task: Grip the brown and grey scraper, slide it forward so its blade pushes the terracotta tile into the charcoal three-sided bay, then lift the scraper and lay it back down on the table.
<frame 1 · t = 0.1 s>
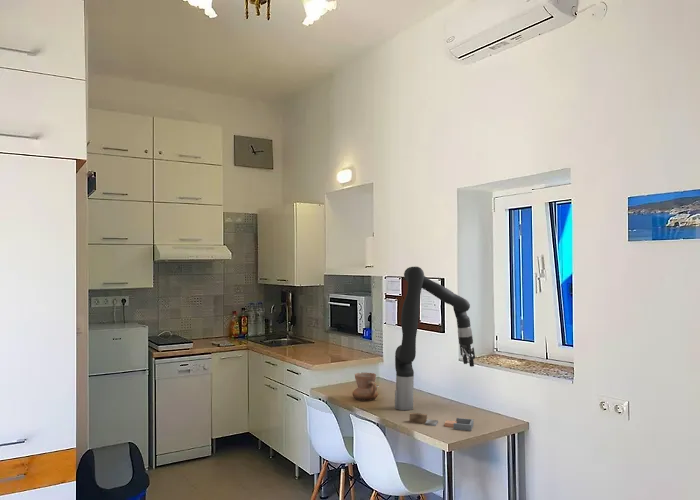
hand: (468, 365, 297), 22 cm above the table, fingers open, 8 cm apart
platform: (371, 393, 328), on the table
brown and grey scraper: (418, 422, 263), on the table
bay: (462, 426, 256), on the table
ceramic jug: (365, 400, 309), on the table
tile: (450, 426, 258), on the table
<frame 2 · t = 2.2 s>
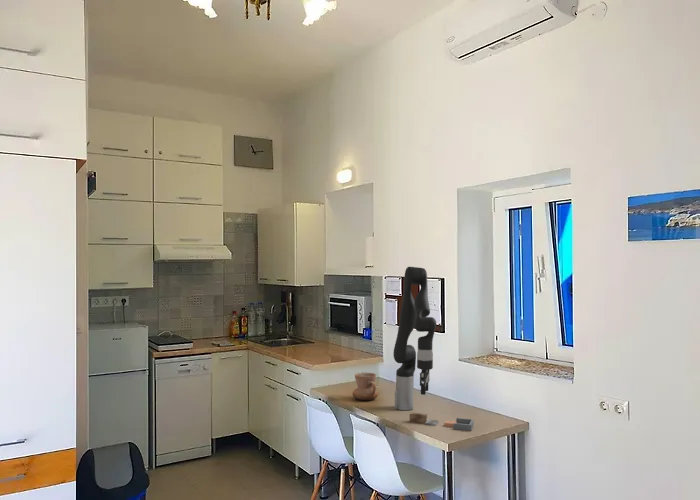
hand: (424, 392, 263), 14 cm above the table, fingers open, 8 cm apart
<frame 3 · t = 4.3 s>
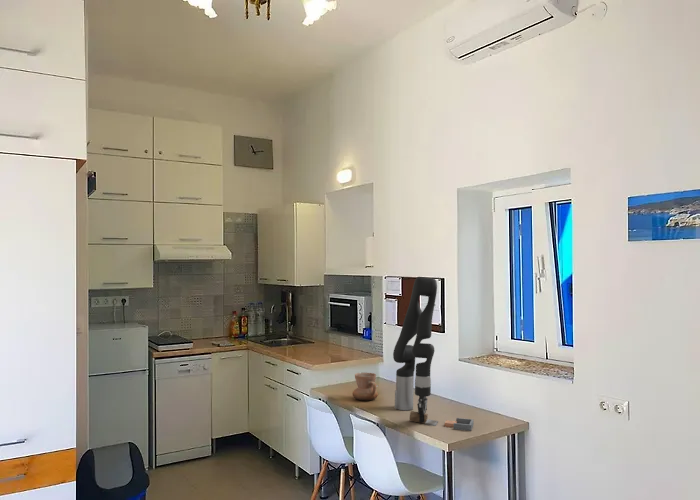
hand: (422, 421, 262), 1 cm above the table, fingers closed on brown and grey scraper, 2 cm apart
brown and grey scraper: (418, 421, 263), on the table, touching gripper
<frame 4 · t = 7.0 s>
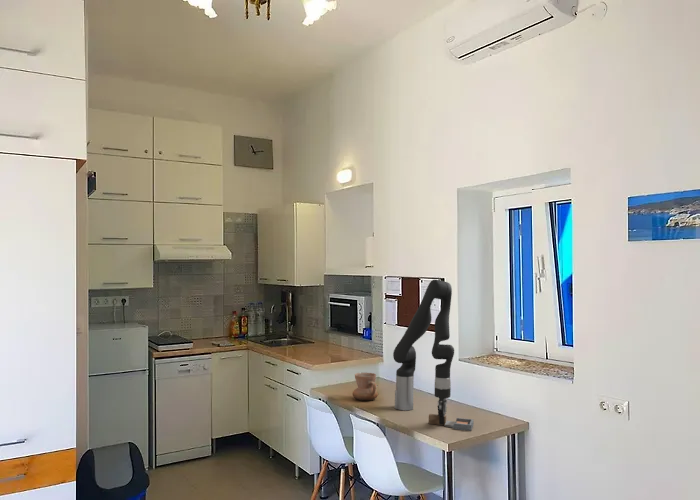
hand: (442, 423, 259), 1 cm above the table, fingers closed on brown and grey scraper, 2 cm apart
brown and grey scraper: (437, 423, 260), on the table, touching gripper
tile: (461, 427, 257), on the table
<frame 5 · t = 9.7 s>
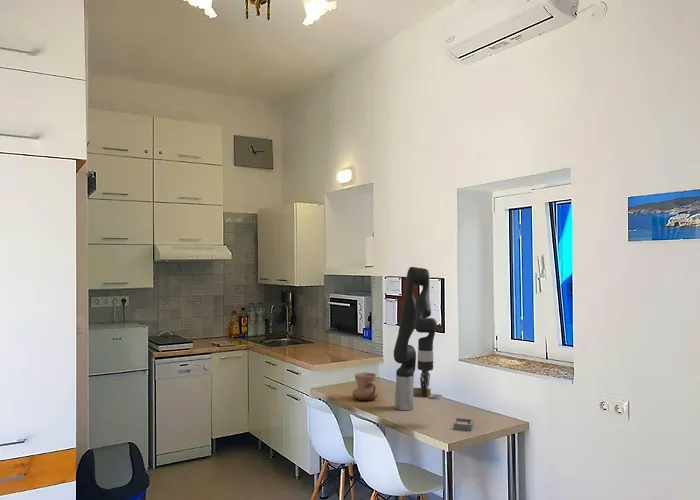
hand: (424, 395, 263), 13 cm above the table, fingers closed on brown and grey scraper, 2 cm apart
brown and grey scraper: (421, 397, 263), point 12 cm above the table, touching gripper
when the fingers open (2 cm above the table, at t = 11.8 s): brown and grey scraper drops 2 cm, on the table.
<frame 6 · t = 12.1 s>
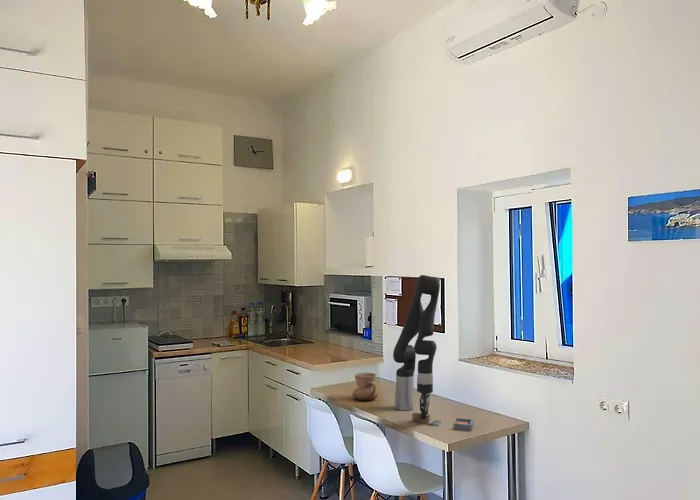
hand: (424, 417, 262), 2 cm above the table, fingers open, 5 cm apart
brown and grey scraper: (420, 422, 263), on the table
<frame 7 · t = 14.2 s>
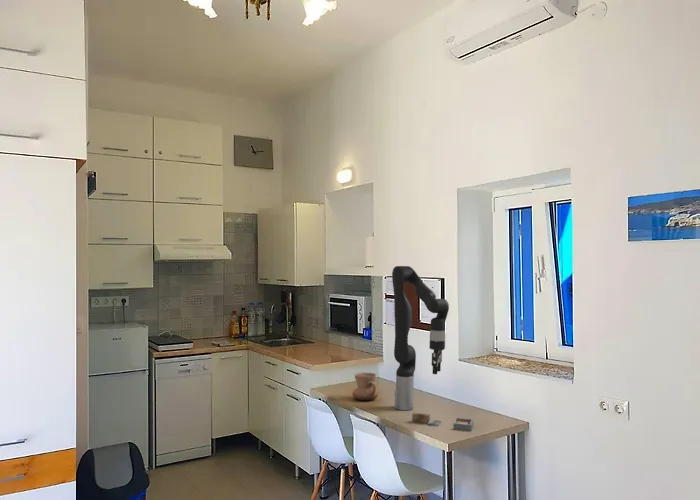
hand: (436, 372, 268), 23 cm above the table, fingers open, 8 cm apart
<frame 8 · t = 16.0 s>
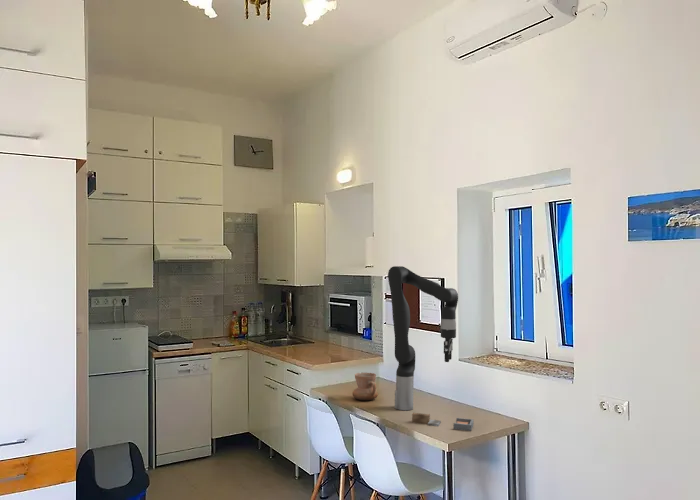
hand: (448, 360, 274), 28 cm above the table, fingers open, 8 cm apart
at the end: tile 0.2 cm off-centre on the bay, point 0.0 cm above the bay's base; the gripper is holding nothing; brown and grey scraper inside the target area (0.8 cm from its centre), on the table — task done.
